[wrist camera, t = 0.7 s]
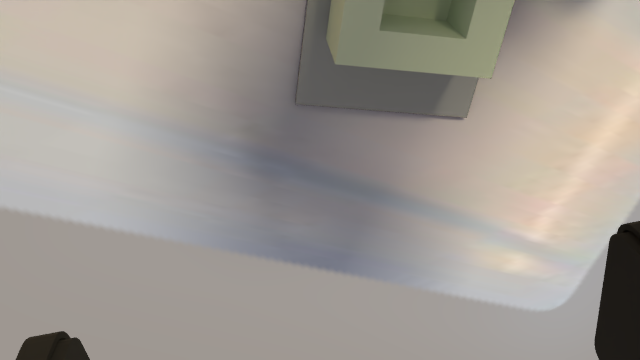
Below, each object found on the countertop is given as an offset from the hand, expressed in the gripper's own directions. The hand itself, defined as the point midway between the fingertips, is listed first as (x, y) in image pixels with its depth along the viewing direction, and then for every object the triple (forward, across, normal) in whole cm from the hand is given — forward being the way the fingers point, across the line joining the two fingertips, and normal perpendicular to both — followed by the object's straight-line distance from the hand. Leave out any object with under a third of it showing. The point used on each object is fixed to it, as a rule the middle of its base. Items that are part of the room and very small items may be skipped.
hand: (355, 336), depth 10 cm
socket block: (+31, -9, 0) cm, 32 cm away
